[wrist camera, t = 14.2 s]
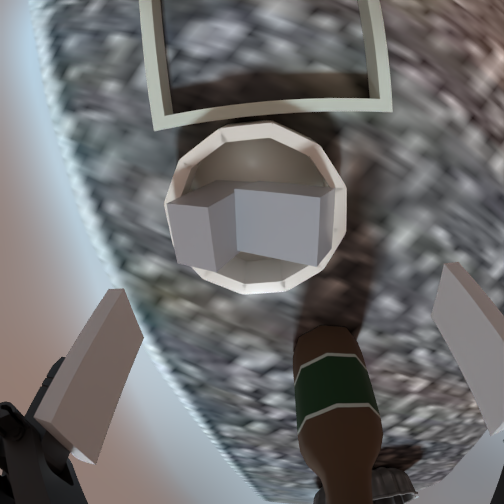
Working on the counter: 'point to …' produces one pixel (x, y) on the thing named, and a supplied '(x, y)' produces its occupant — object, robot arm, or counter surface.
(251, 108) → the square frame
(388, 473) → the bundt pan
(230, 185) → the grey rectangular block
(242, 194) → the light grey cuboid
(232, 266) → the bowl
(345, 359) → the beer bottle
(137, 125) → the counter surface
